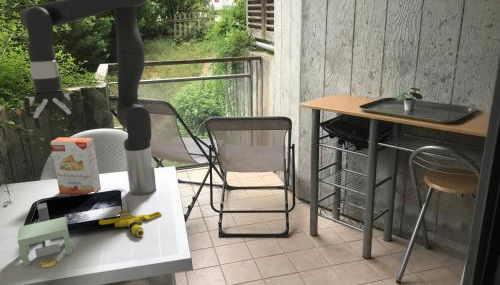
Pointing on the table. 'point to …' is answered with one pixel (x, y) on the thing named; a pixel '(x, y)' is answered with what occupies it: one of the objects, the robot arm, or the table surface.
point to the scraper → (48, 248)
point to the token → (48, 262)
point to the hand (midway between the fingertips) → (54, 127)
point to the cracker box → (75, 165)
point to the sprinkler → (130, 221)
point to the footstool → (42, 235)
